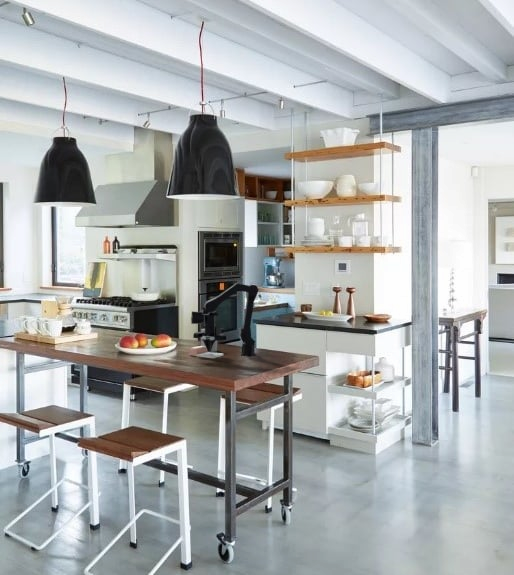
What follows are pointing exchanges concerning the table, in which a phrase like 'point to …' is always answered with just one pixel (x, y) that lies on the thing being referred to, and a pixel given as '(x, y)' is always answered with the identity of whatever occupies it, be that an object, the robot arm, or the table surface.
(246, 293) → the robot arm
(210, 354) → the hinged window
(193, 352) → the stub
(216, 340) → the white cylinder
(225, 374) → the table surface
